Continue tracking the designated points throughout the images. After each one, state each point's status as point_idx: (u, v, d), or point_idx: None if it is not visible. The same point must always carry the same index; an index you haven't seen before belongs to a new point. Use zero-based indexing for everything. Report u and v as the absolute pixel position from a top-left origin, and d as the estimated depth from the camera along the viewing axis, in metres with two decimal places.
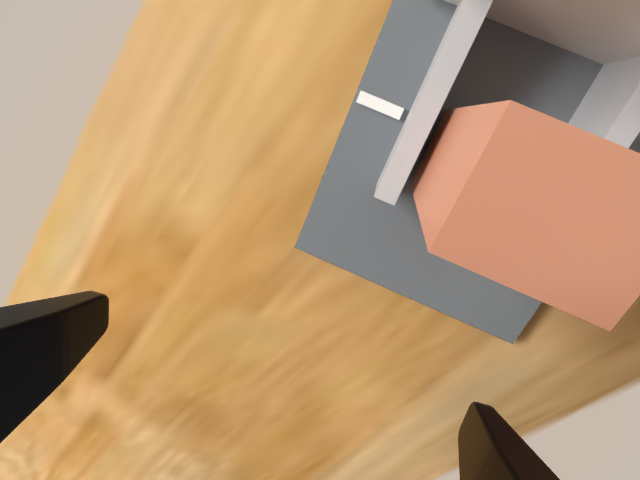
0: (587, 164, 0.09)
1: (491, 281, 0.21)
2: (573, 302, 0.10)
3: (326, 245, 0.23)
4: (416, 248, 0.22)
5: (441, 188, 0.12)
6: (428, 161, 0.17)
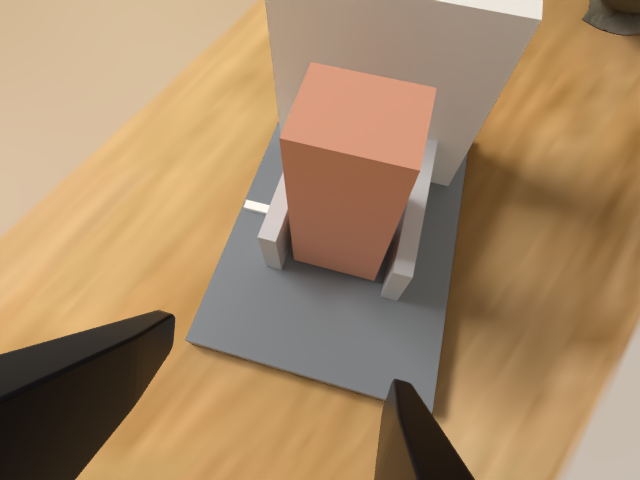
0: (362, 84, 0.15)
1: (387, 342, 0.22)
2: (387, 155, 0.13)
3: (219, 332, 0.22)
4: (310, 320, 0.22)
5: None
6: None
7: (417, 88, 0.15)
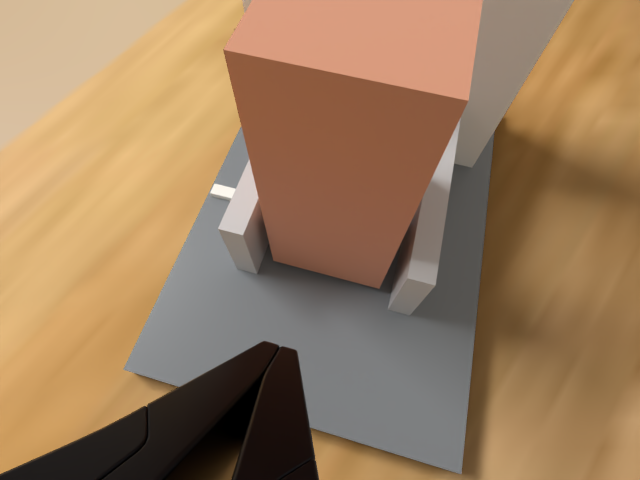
0: None
1: (397, 372, 0.16)
2: (409, 77, 0.08)
3: (171, 358, 0.16)
4: (293, 342, 0.16)
5: None
6: None
7: None
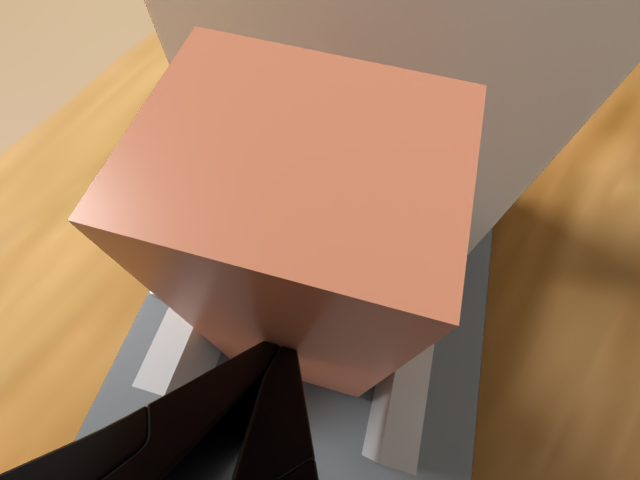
0: (308, 75, 0.06)
1: None
2: (363, 275, 0.05)
3: None
4: None
5: None
6: None
7: (440, 86, 0.06)
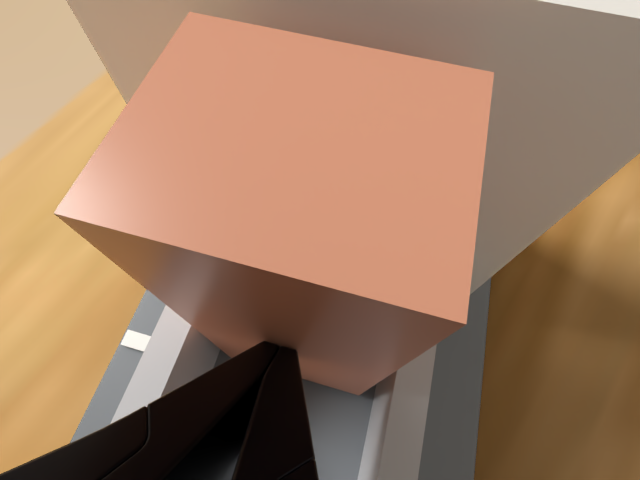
0: (307, 62, 0.06)
1: None
2: (365, 270, 0.04)
3: None
4: None
5: None
6: None
7: (444, 73, 0.06)
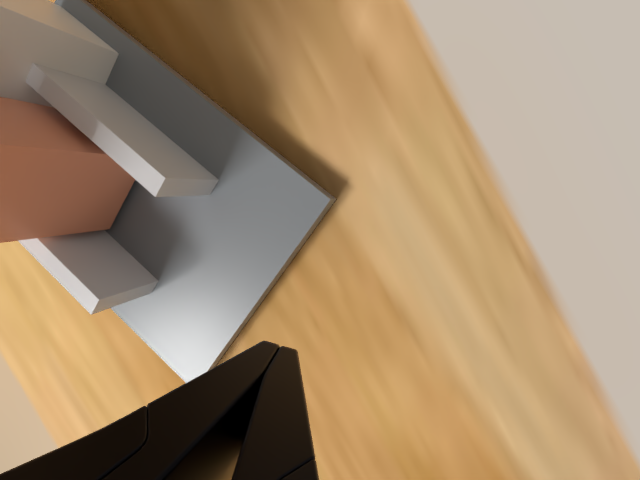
0: None
1: (253, 210, 0.20)
2: None
3: (196, 359, 0.22)
4: (210, 276, 0.21)
5: None
6: None
7: None
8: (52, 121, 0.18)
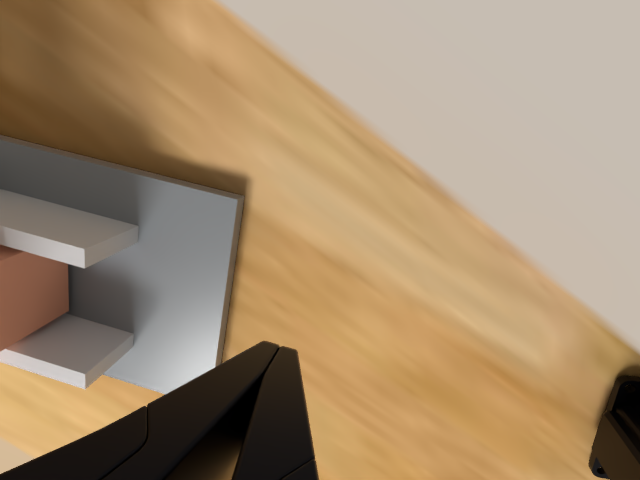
0: None
1: (180, 238, 0.21)
2: None
3: None
4: (174, 309, 0.23)
5: None
6: None
7: None
8: None
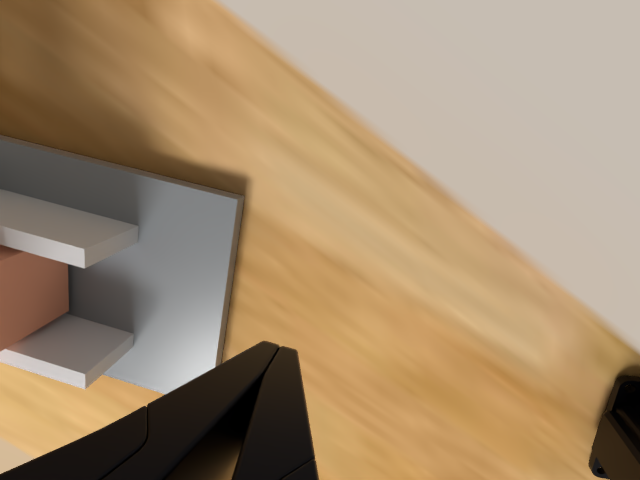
0: None
1: (180, 238, 0.21)
2: None
3: None
4: (174, 309, 0.23)
5: None
6: None
7: None
8: None
